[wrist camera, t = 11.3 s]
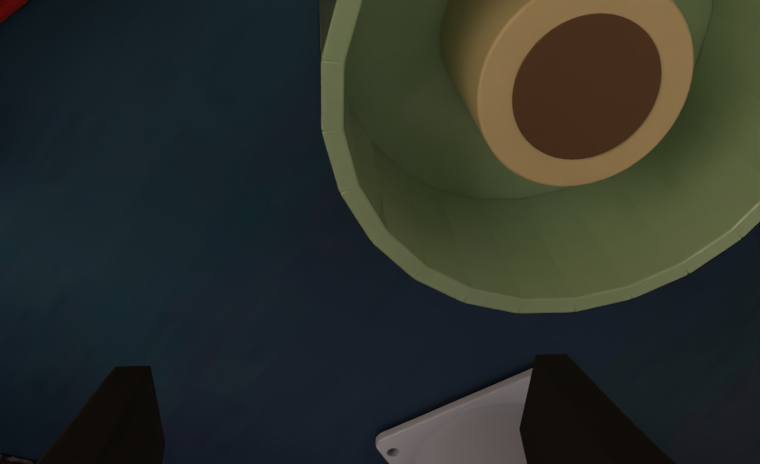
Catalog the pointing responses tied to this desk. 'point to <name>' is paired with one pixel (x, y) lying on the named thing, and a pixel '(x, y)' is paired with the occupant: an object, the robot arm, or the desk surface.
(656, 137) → the tape roll
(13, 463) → the storage jar
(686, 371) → the desk surface
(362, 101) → the green bowl
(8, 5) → the red curved piece
